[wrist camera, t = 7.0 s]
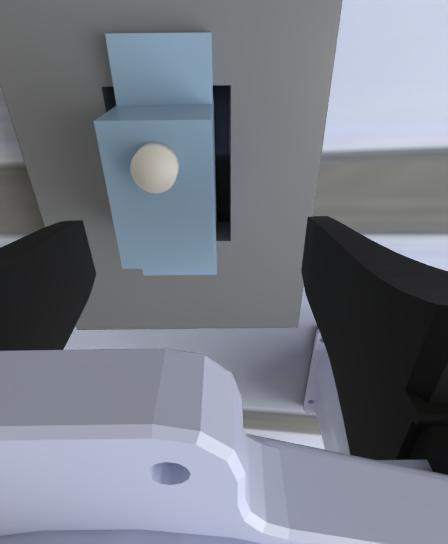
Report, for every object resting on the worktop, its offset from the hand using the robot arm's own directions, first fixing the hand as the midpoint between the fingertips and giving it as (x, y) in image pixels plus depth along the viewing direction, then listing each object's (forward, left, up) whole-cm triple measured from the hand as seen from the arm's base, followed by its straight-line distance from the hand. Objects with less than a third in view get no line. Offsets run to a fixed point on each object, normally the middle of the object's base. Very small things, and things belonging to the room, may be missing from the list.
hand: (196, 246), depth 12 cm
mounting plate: (0, +2, -9) cm, 9 cm away
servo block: (0, +2, -9) cm, 9 cm away
